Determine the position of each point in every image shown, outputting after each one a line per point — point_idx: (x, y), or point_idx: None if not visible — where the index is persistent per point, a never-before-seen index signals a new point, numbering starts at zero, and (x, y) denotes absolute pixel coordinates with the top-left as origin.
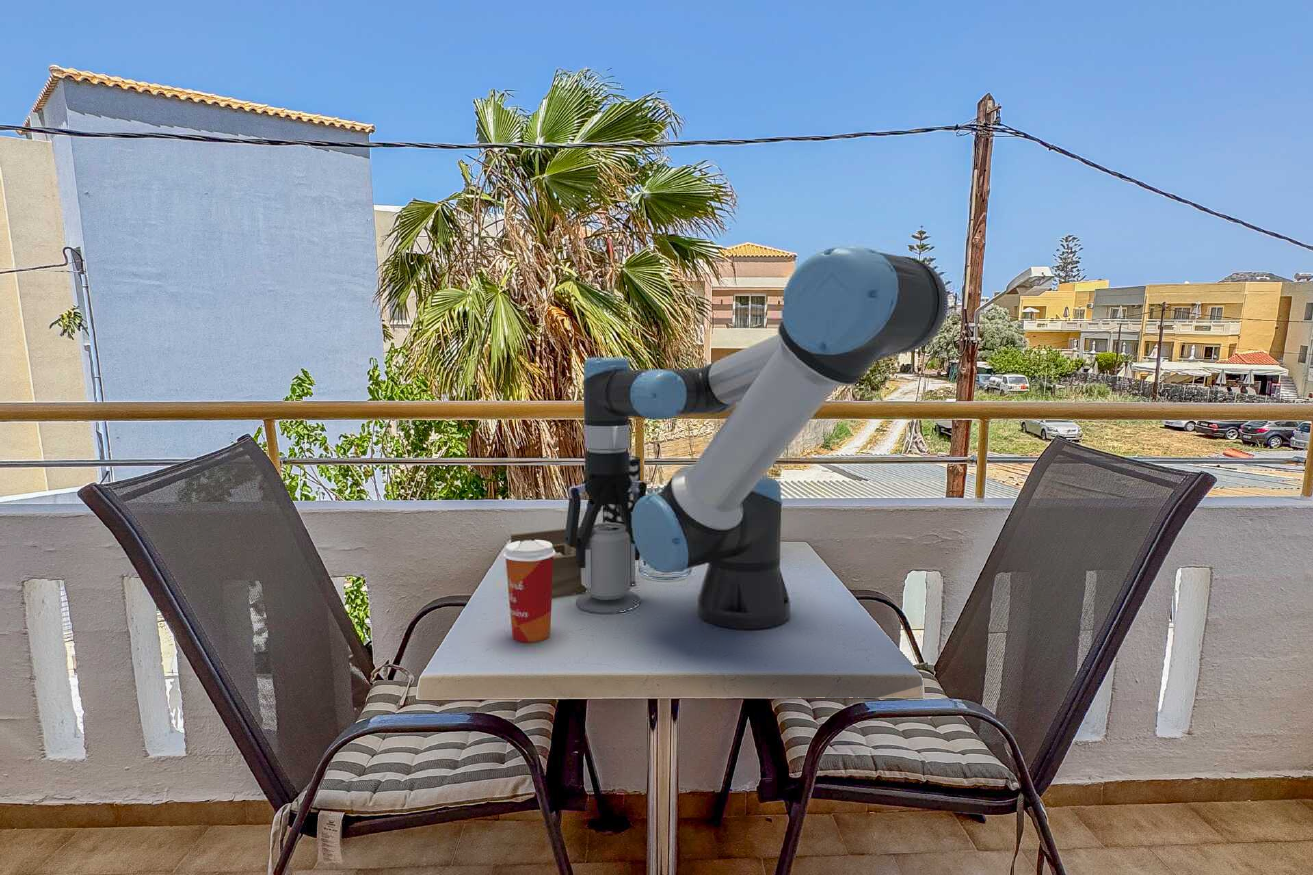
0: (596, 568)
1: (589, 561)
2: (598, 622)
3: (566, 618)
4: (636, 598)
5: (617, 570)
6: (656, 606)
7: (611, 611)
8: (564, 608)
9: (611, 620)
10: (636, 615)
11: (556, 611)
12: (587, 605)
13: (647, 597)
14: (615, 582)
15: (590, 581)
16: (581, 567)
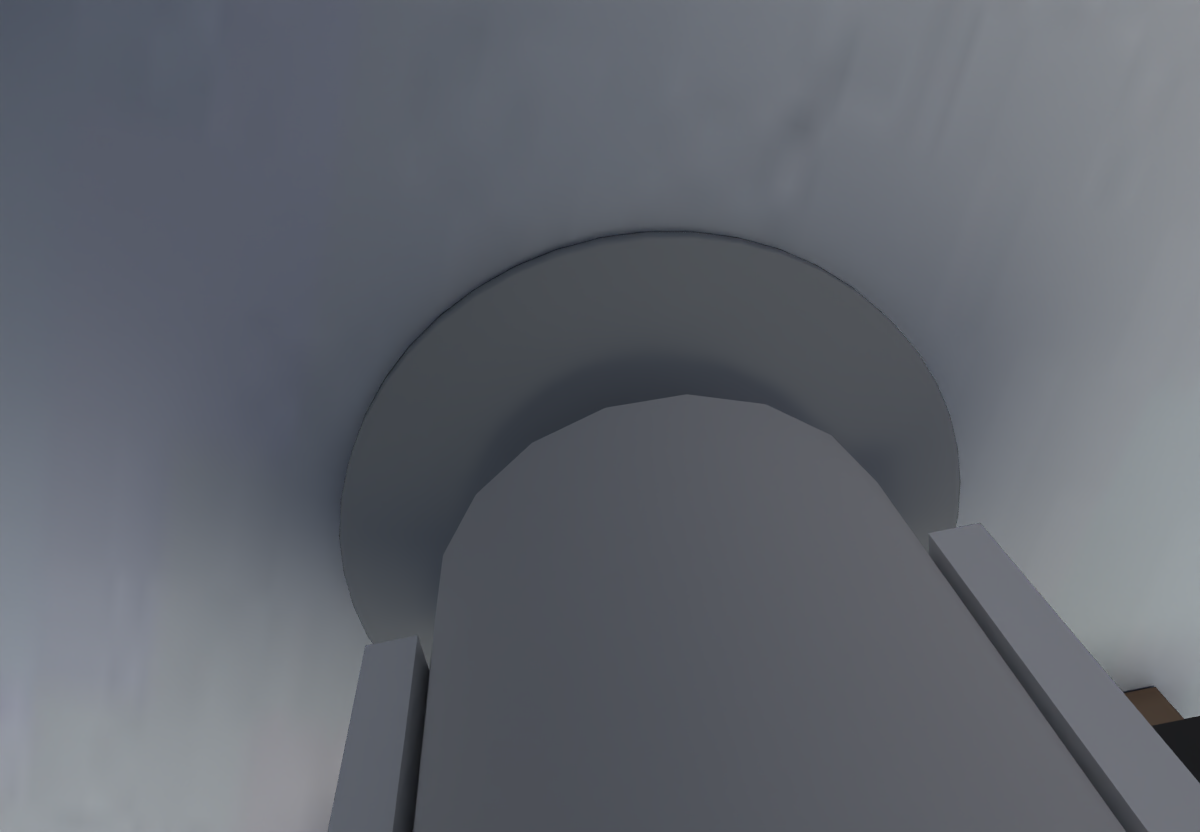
0: (997, 662)
1: (1141, 782)
2: (903, 18)
3: (1147, 225)
4: (380, 516)
5: (676, 588)
6: (191, 329)
7: (709, 237)
8: (1062, 474)
9: (755, 39)
10: (453, 117)
11: (1153, 420)
12: (890, 439)
13: (258, 579)
14: (678, 483)
15: (968, 579)
16: (1182, 729)
